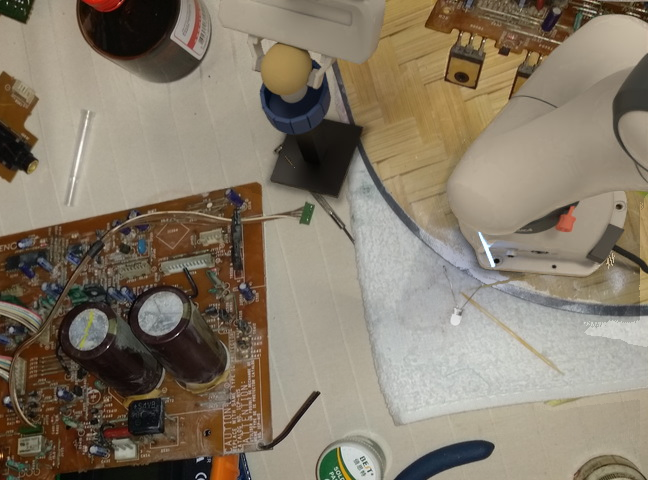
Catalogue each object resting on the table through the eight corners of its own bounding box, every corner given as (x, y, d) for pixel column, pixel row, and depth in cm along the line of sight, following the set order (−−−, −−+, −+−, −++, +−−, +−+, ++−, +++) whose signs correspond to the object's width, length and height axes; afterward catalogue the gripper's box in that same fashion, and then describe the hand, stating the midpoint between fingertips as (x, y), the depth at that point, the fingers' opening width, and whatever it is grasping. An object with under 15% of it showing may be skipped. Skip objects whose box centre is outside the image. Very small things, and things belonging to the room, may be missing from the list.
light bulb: (299, 122, 95) (287, 91, 86) (261, 101, 97) (246, 68, 88) (327, 81, 94) (319, 44, 85) (289, 59, 96) (276, 22, 87)
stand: (363, 129, 117) (354, 69, 96) (337, 198, 118) (323, 153, 98) (295, 114, 121) (272, 54, 101) (271, 181, 122) (244, 135, 102)
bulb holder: (340, 77, 97) (337, 62, 93) (317, 140, 98) (313, 128, 94) (279, 66, 100) (273, 51, 96) (257, 127, 101) (250, 115, 97)
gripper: (216, -53, 82) (204, 66, 92) (384, -14, 75) (350, 109, 85) (240, -66, 86) (226, 49, 96) (403, -31, 79) (368, 90, 89)
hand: (286, 78), depth 91 cm, fingers closed on light bulb, 6 cm apart
